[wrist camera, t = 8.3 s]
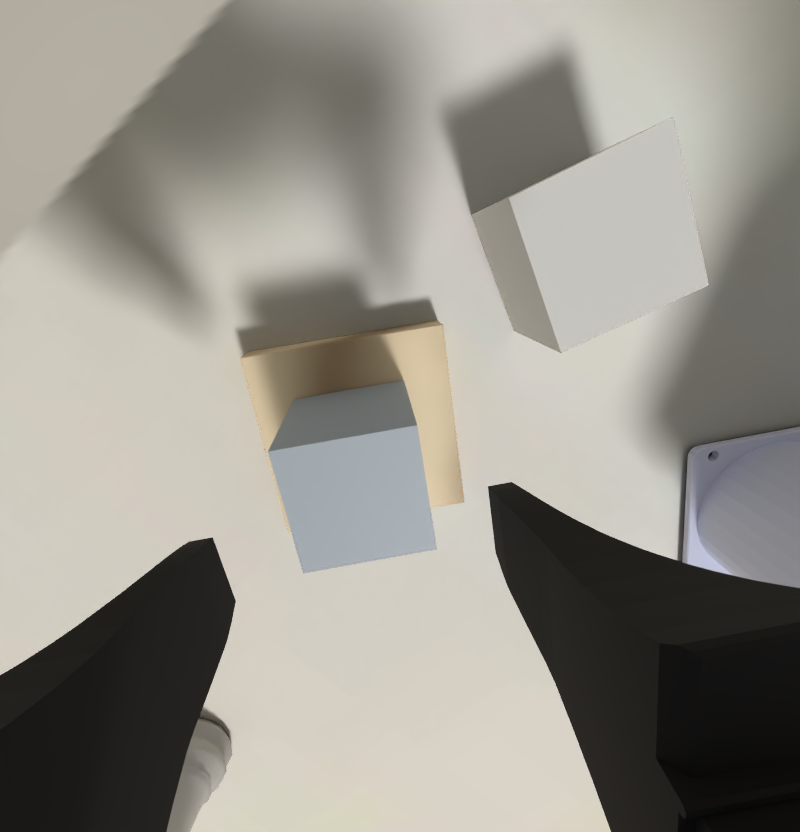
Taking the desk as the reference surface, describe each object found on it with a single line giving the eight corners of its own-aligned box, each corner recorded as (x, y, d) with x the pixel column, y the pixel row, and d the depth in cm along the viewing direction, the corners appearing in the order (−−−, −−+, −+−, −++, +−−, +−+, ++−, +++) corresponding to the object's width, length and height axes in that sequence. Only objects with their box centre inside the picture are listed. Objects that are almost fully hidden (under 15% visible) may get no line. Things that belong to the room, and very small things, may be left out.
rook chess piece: (136, 735, 25) (36, 940, 17) (200, 700, 25) (127, 895, 17) (188, 779, 26) (118, 986, 19) (250, 747, 26) (203, 946, 18)
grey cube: (589, 156, 17) (673, 116, 13) (623, 279, 19) (708, 285, 14) (470, 214, 18) (509, 197, 13) (513, 330, 19) (561, 353, 15)
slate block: (403, 380, 18) (417, 425, 13) (420, 477, 20) (436, 549, 15) (293, 399, 18) (267, 451, 13) (318, 496, 20) (303, 573, 15)
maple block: (435, 318, 19) (443, 324, 18) (456, 481, 22) (464, 502, 20) (252, 348, 19) (239, 358, 17) (294, 509, 22) (288, 532, 20)
